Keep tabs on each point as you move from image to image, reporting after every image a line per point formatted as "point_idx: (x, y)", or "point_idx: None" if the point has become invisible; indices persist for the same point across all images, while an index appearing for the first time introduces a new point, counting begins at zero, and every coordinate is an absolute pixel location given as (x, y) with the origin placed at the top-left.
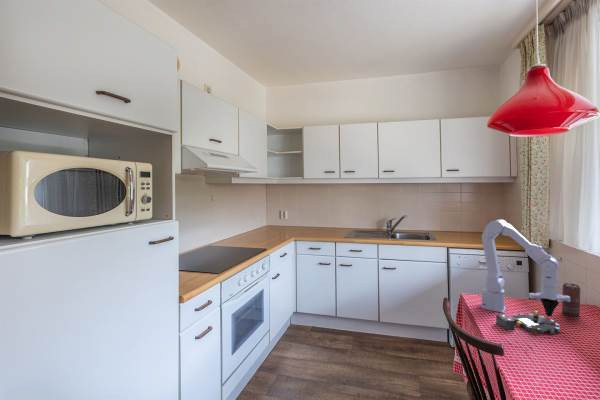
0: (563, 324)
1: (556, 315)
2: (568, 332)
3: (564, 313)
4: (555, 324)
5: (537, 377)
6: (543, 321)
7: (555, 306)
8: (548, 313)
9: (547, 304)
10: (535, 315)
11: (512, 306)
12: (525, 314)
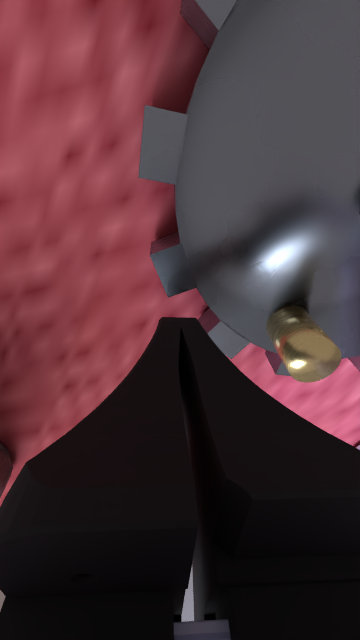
0: (60, 278)
1: (63, 422)
2: (69, 36)
3: (2, 450)
4: (187, 140)
5: None
6: (287, 214)
7: (105, 413)
8: (202, 330)
9: (291, 435)
10: (313, 321)
11: None
12: (353, 353)
